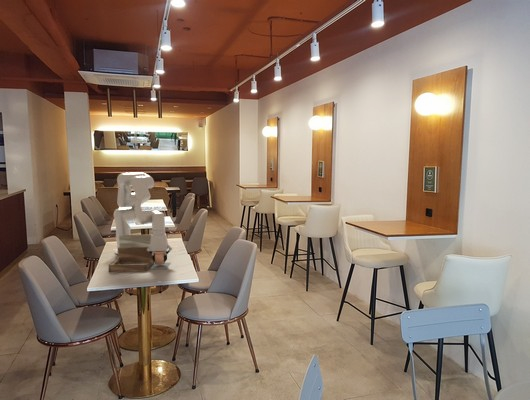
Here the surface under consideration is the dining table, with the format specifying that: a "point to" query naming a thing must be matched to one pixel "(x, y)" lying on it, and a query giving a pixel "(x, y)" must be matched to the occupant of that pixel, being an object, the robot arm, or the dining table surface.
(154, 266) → the slate mat
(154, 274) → the dining table surface
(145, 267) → the box
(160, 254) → the terracotta pot
